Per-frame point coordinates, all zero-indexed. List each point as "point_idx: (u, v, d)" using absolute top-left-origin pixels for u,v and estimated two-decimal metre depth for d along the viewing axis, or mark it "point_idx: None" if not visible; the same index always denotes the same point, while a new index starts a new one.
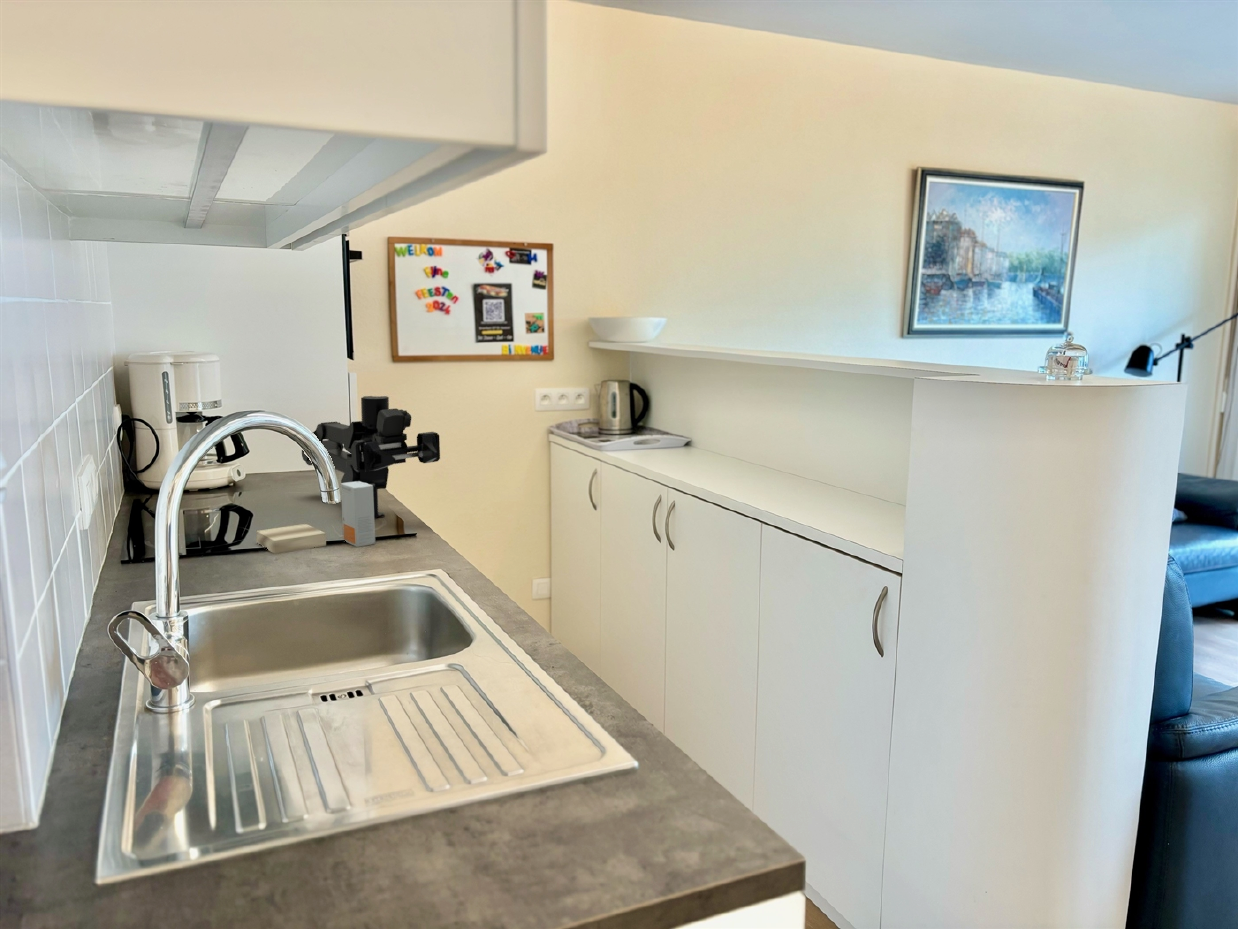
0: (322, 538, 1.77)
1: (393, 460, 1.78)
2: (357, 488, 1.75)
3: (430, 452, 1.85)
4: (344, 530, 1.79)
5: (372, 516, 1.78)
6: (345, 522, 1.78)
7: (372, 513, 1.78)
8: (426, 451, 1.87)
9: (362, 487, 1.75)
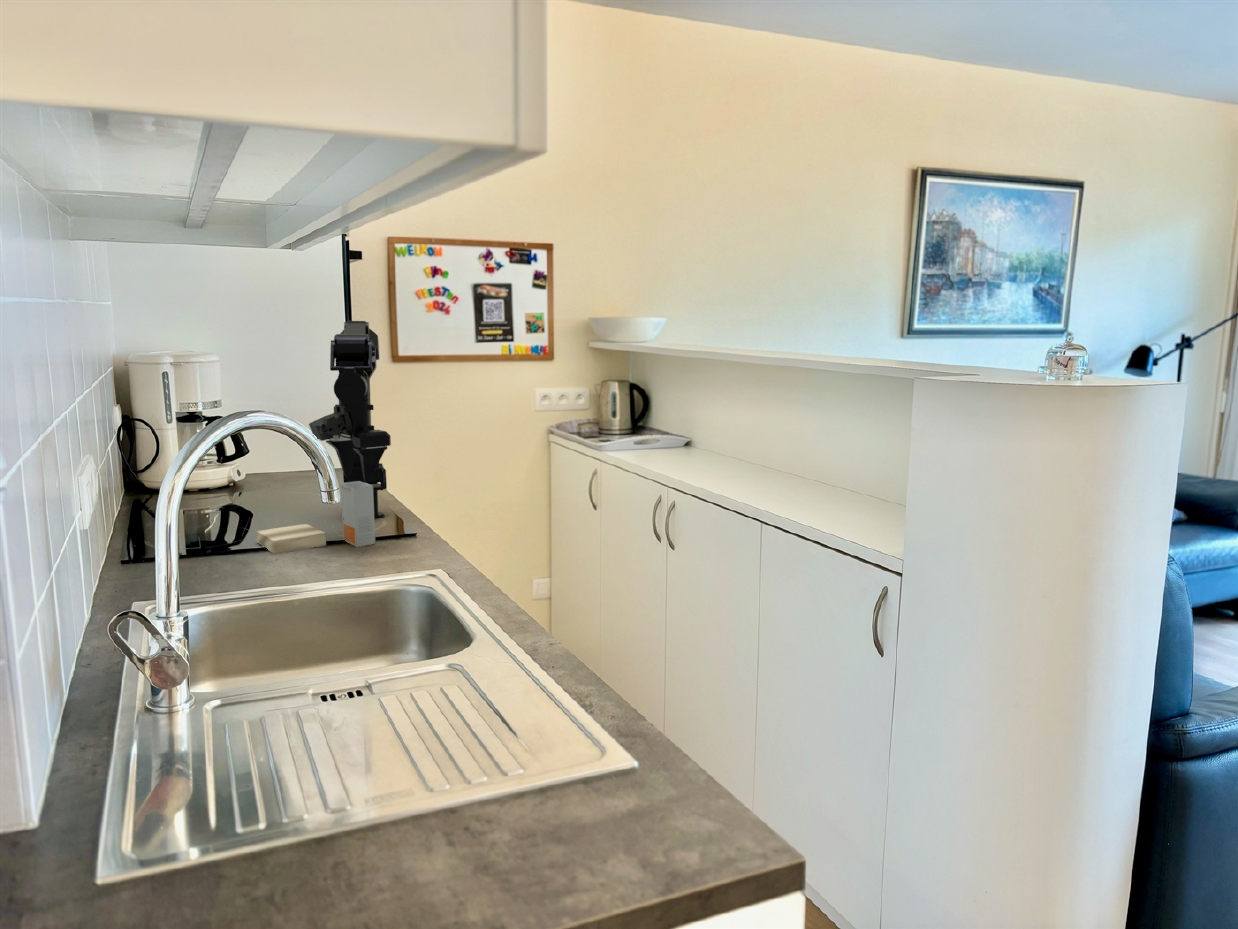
0: (322, 538, 1.77)
1: None
2: (357, 488, 1.75)
3: None
4: (344, 530, 1.79)
5: (372, 516, 1.78)
6: (345, 522, 1.78)
7: (372, 513, 1.78)
8: None
9: (362, 487, 1.75)
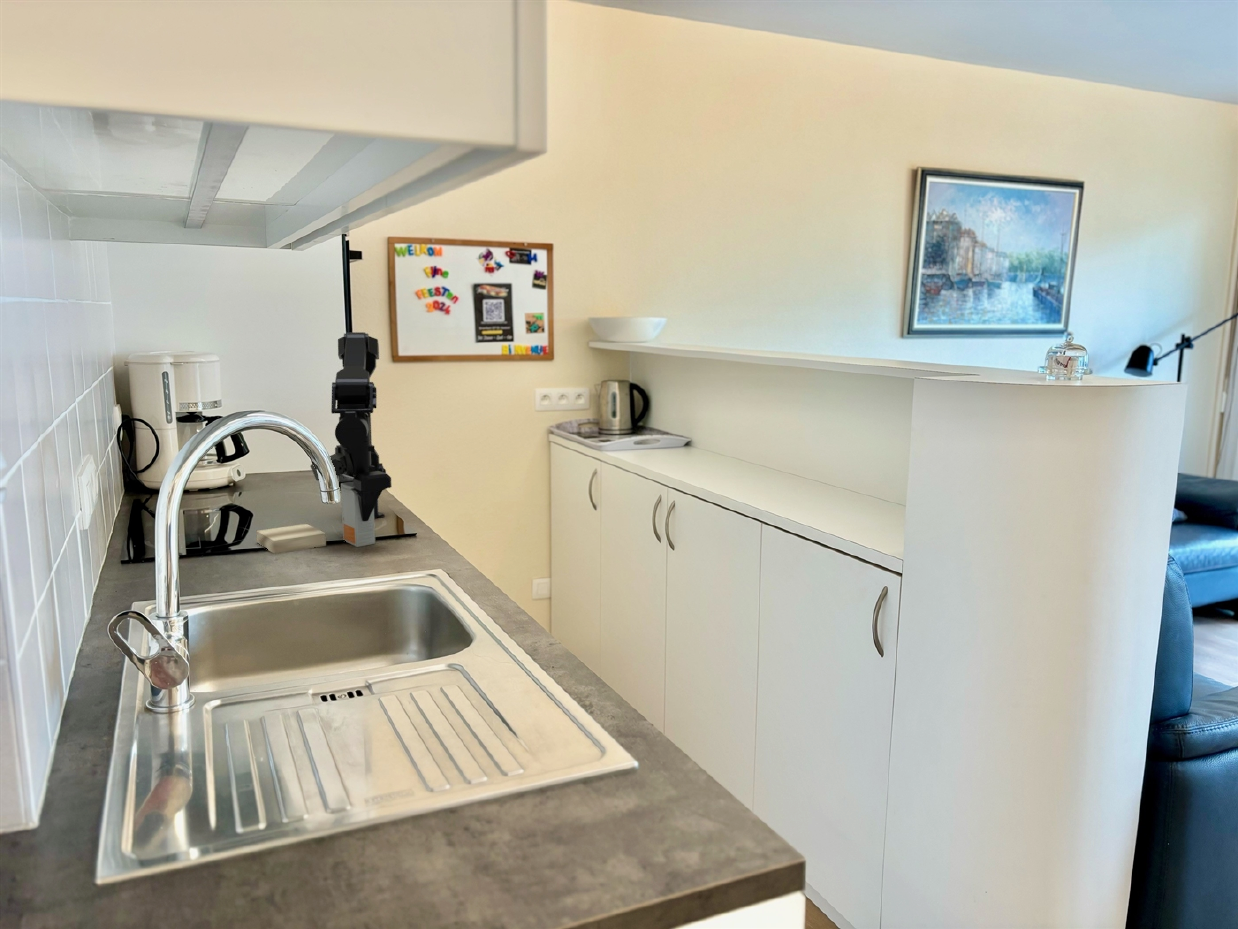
0: (322, 538, 1.77)
1: None
2: None
3: None
4: (344, 530, 1.79)
5: (372, 516, 1.78)
6: (345, 521, 1.78)
7: (372, 513, 1.78)
8: None
9: None
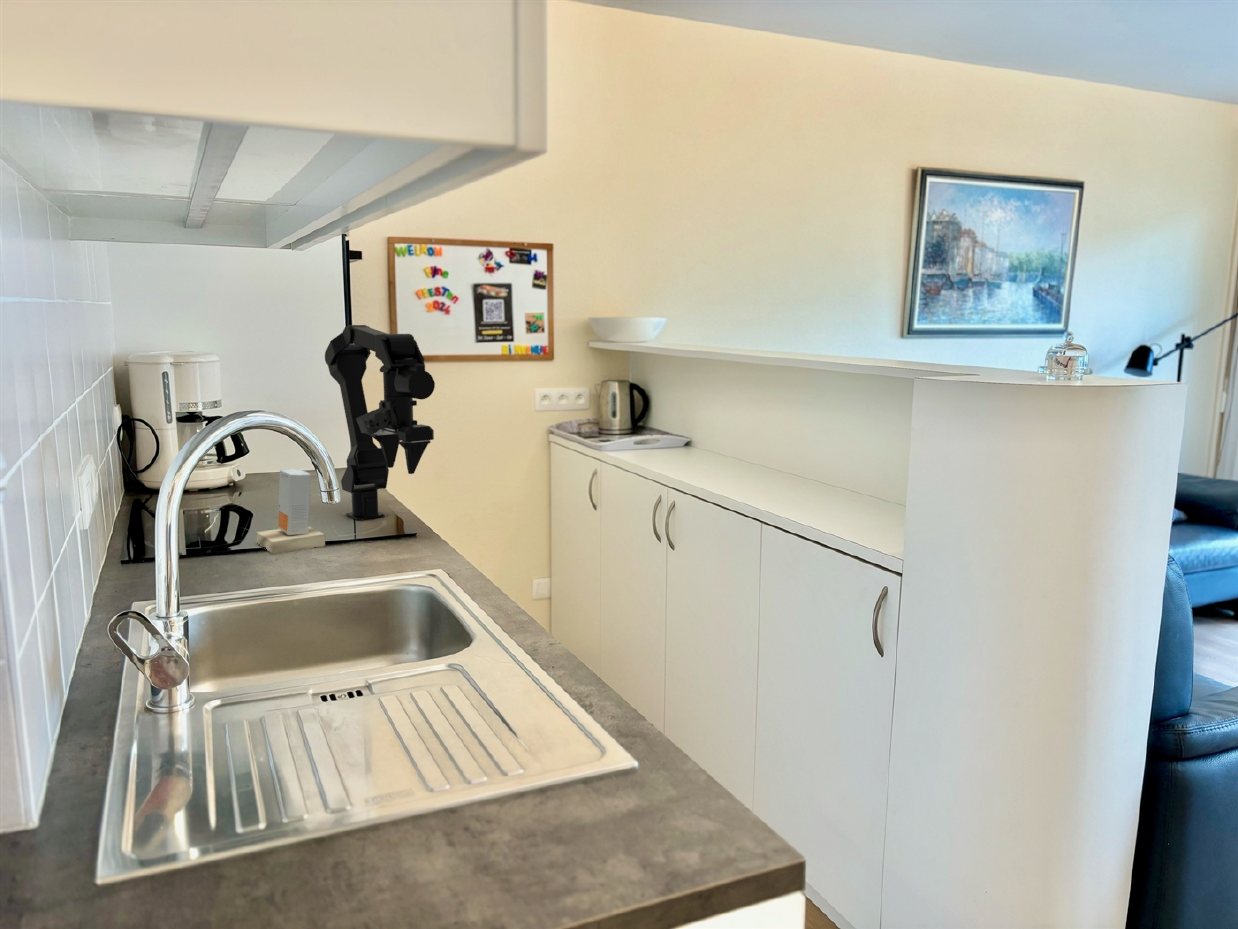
0: (321, 539, 1.76)
1: None
2: (294, 475, 1.73)
3: None
4: (279, 517, 1.78)
5: (307, 505, 1.76)
6: (281, 508, 1.77)
7: (308, 502, 1.76)
8: None
9: (299, 475, 1.74)
